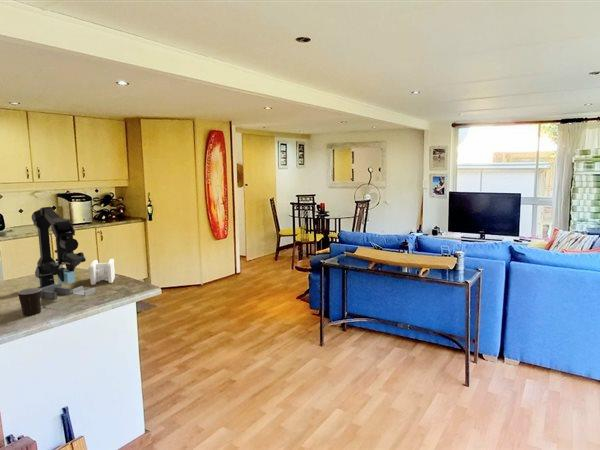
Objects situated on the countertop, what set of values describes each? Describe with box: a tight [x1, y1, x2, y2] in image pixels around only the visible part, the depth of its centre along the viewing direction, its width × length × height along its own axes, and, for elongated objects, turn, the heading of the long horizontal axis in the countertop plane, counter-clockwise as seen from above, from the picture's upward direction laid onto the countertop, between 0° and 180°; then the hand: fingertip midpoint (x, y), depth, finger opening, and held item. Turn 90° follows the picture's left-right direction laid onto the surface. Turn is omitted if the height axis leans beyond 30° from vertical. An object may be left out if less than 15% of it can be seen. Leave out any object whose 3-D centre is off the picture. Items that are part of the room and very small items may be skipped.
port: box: [40, 282, 72, 301], centre depth 202 cm, size 11×12×6 cm
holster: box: [71, 285, 96, 296], centre depth 206 cm, size 9×6×3 cm
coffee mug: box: [17, 287, 42, 317], centre depth 180 cm, size 12×9×10 cm
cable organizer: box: [88, 258, 116, 286], centre depth 225 cm, size 15×11×12 cm
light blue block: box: [57, 268, 76, 285], centre depth 198 cm, size 6×4×6 cm, turn 70°
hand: (66, 280), depth 198 cm, fingers closed on light blue block, 4 cm apart
